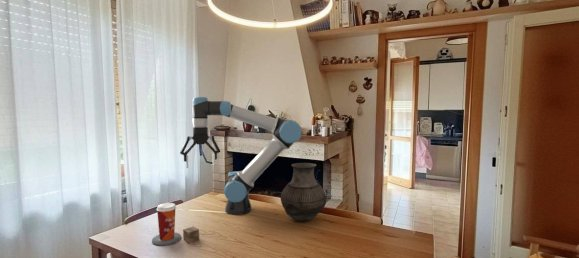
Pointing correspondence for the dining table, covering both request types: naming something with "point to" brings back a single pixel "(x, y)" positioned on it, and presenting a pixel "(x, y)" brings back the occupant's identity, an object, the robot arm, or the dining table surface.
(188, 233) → the walnut cube
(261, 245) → the dining table surface
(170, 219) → the coffee cup
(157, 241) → the slate coaster
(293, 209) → the vase
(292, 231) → the dining table surface
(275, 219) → the dining table surface
